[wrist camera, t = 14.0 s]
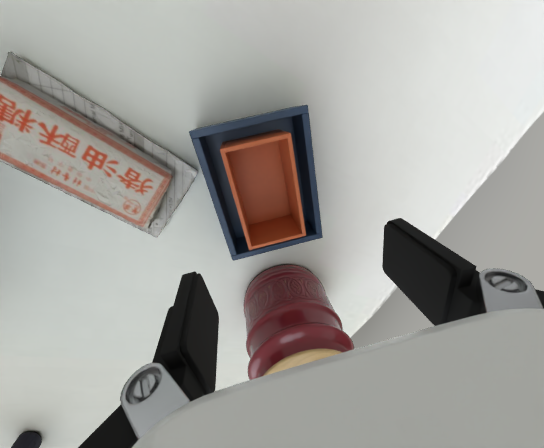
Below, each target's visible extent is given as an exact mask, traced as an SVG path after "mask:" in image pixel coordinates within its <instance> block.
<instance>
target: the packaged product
mask: <svg viewBox="0 0 544 448" xmlns="http://www.w3.org/2000/svg"><path fill="white" fill-rule="evenodd" d="M0 161H1V162H4V163H6V164H7V165H9V166H11V167H13V168H15V169H17V170H20V171H22V172H24V173H26V174H28V175H30V176H32V177H34V178H36V179H38V180H40V181H43V182H44V183H46V184H48V185H50V186H52V187H54V188H56V189H59V190H61V191H63V192H64V193H66V194H68V195H70V196H73V197H75V198H77V199H79V200H81V201H83V202H85V203H87V204H89V205H91V206H93V207H95V208H97V209H99V210H101V211H103V212H106V213H108V214H110V215H112V216H114V217H115V218H117V219H119V220H121V221H123V222H125V223H128V224H130V225H132V226H134V227H136V228H138V229H140V230H142V231H145V232H146V233H148V234H151V235H152V236H154V237H158V235H159V234H160V233H161V231H162V230H163V228H164V227H165V225H166V224H167V222H168V220H169V218H170V216H171V215H172V213H173V212H174V210H175V209H176V208H177V206H178V205H179V203H180V202H181V200H182V199H183V197H184V195H185V194H186V192H187V191H188V189H189V188H190V186H191V184H192V182H193V180H194V178H195V176H196V175H197V173H198V171H197V170H196V169H194V168H193V167H191V166H190V165H188V164H187V163H185V162H184V161H182V160H181V159H179V158H178V157H176V156H175V155H173V154H172V153H170V152H168V151H167V150H165V149H163V148H162V147H160V146H158V145H156V144H154V143H153V142H151V141H150V140H148V139H147V138H145V137H144V136H142V135H141V134H139V133H138V132H136V131H135V130H133V129H132V128H130V127H129V126H127V125H126V124H124V123H123V122H121V121H120V120H119V119H117V118H116V117H114V116H113V115H112V114H110V113H109V112H108V111H106V110H105V109H104V108H102V107H100V106H98V105H96V104H94V103H93V102H91V101H89V100H87V99H85V98H83V97H81V96H79V95H78V94H76V93H75V92H74V91H72V90H71V89H69V88H68V87H66V86H65V85H63V84H62V83H61V82H59V81H58V80H56V79H54V78H53V77H51V76H49V75H48V74H46V73H44V72H42V71H41V70H39V69H37V68H36V67H34V66H32V65H31V64H29V63H27V62H26V61H24V60H22V59H21V58H19V57H18V56H17V55H15V54H14V53H12V52H8V57H7V60H6V62H5V65H4V68H3V71H2V76H0Z"/></svg>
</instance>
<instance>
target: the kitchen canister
mask: <svg viewBox="0 0 544 448" xmlns="http://www.w3.org/2000/svg"><path fill="white" fill-rule="evenodd" d="M244 314H245V317H246V328H247V341H246V348H247V352H248V355H249V357H250V358H251V359H250V361H249V365H248V377H249V380H252V379H255V378H259V377H262V376H265V375H269V374H272V373H275V372H279V371H282V370H285V369H289V368H292V367H295V366H299V365H302V364H306V363H309V362H312V361H316V360H319V359H323V358H326V357H329V356H333V355H336V354H340V353H343V352H347V351H350V350H353V349H354V345H353V343H352V340H351V339H350V337H349V336H348V335H347V334H346V333H345V332H344V331H342V323H341V320H340V318H339V316H338V315H337V314H336V313H335V311H334V309H333V307H332V305H331V303H330V302H329V300H328V298H327V296H326V293H325V290H324V287H323V286H322V284H321V282H320V281H319V279H318V278H317V277H316V276H315V275H314V274H313V273H312V272H311V271H309V270H308V269H306V268H304V267H301V266H297V265H280V266H276V267H272V268H270V269H267V270H265V271H264V272H262V273H261V274H259V275H258V276H257V277H256V278H255V279H254V280H253V281H252V282H251V283H250V285H249V287H248V289H247V291H246V295H245V299H244Z"/></svg>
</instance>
